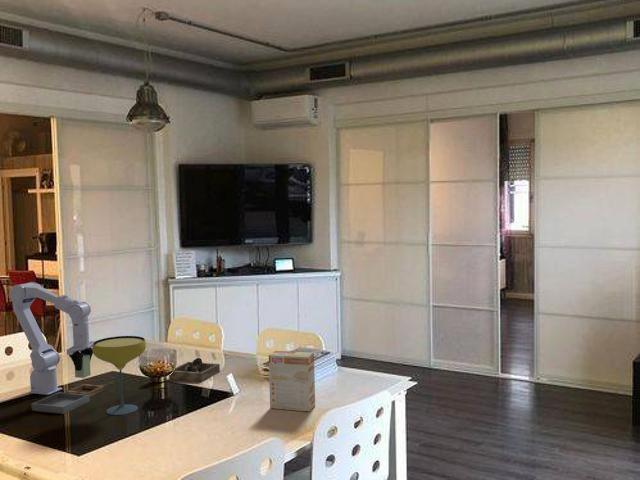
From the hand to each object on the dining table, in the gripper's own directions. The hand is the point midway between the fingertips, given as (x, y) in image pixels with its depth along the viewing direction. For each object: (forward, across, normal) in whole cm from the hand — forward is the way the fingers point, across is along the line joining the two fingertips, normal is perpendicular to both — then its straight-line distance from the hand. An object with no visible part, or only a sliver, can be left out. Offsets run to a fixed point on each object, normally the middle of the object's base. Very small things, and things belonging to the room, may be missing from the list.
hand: (82, 368), depth 246 cm
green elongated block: (+3, 0, 0) cm, 3 cm away
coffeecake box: (+10, +6, -85) cm, 86 cm away
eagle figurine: (+10, +35, -29) cm, 47 cm away
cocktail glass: (+10, -13, -27) cm, 31 cm away
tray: (+10, -14, -2) cm, 18 cm away
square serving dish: (+10, +33, -30) cm, 46 cm away
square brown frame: (+10, +2, 0) cm, 10 cm away
